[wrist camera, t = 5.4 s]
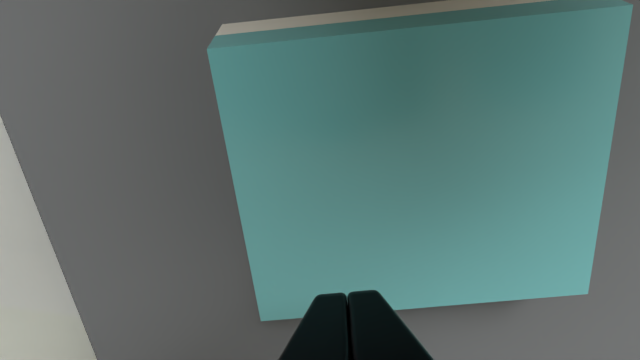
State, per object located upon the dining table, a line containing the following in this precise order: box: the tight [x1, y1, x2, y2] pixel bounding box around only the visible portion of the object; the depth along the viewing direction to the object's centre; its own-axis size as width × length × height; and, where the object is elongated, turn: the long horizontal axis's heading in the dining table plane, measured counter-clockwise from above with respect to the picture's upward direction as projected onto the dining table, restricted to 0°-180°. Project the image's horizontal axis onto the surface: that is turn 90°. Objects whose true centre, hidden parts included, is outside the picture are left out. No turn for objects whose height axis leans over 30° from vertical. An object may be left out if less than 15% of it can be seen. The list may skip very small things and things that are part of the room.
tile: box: [207, 0, 633, 321], centre depth 11 cm, size 6×2×7 cm
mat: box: [0, 0, 640, 360], centre depth 12 cm, size 18×16×1 cm
